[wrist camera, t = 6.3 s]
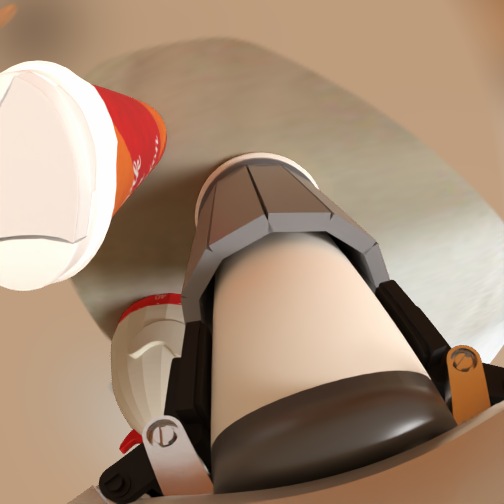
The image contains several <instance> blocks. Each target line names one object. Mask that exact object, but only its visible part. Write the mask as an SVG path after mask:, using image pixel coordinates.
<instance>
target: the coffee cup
mask: <svg viewBox="0 0 504 504" xmlns="http://www.w3.org/2000/svg"><path fill="white" fill-rule="evenodd" d="M166 140H167V133H166V128H165V124H164V122H163V120H162V118H161V116H160V115H159V114H158V112H157V111H156V110H155V109H153V108H152V107H151V106H149V105H147V104H145V103H143V102H141V101H139V100H136V99H134V98H131V97H128V96H126V95H123V94H120V93H117V92H114V91H111V90H108V89H105V88H102V87H99V86H96V85H93V84H89V83H88V82H86V81H85V80H83V79H81V78H80V77H78V76H77V75H76V74H74V73H73V72H71V71H70V70H69V69H67V68H65V67H63V66H60V65H58V64H55V63H53V62H46V61H29V62H23V63H20V64H18V65H15V66H12V67H10V68H9V69H7V70H5V71H3V72H2V73H0V286H2V287H5V288H8V289H12V290H17V291H29V290H35V289H38V288H42V287H44V286H46V285H48V284H53V283H57V282H60V281H64V280H66V279H68V278H70V277H72V276H74V275H75V274H77V273H78V272H79V271H80V270H82V269H83V268H84V267H85V266H86V265H87V264H88V263H89V262H90V260H91V259H92V258H93V257H94V256H95V254H96V253H97V251H98V249H99V248H100V246H101V244H102V243H103V241H104V238H105V236H106V233H107V231H108V228H109V226H110V222H111V218H112V217H113V216H114V214H115V213H116V212H117V211H118V209H119V208H120V207H121V206H122V205H123V203H124V202H125V201H126V200H127V199H128V198H129V196H130V195H131V194H132V193H133V192H134V191H135V189H136V188H137V187H138V186H139V185H140V184H141V182H142V181H143V180H144V179H145V178H146V177H147V176H148V174H149V173H150V172H151V171H152V170H153V169H154V167H155V166H156V165H157V164H158V162H159V161H160V159H161V157H162V155H163V153H164V150H165V147H166Z"/></svg>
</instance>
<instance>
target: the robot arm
mask: <svg viewBox="0 0 504 504" xmlns="http://www.w3.org/2000/svg"><path fill="white" fill-rule="evenodd" d="M375 296H376V298H377V299H378V301H379V302H380V303H381V305H382V306H383V308H384V309H385V310H386V312H387V313H388V315H389V316H390V318H391V319H392V320H393V322H394V323H395V325H396V326H397V328H398V329H399V331H400V332H401V334H402V335H403V336H404V338H405V339H406V341H407V342H408V344H409V345H410V347H411V349H412V350H413V352H414V353H415V355H416V356H417V358H418V359H419V361H420V362H421V364H422V366H423V367H424V369H425V370H426V372H427V373H428V375H429V377H430V378H431V380H432V382H433V383H434V385H435V386H436V388H437V390H438V391H439V393H440V395H441V396H442V398H443V400H444V402H445V403H446V405H447V407H448V408H449V410H450V412H451V414H452V415H453V417H454V419H455V421H456V423H457V425H458V426H457V427H455V428H453V429H451V430H449V431H447V432H445V433H443V434H442V435H440V436H438V437H436V438H434V439H432V440H429V441H427V442H425V443H423V444H421V445H419V446H416V447H414V448H412V449H410V450H407V451H405V452H402V453H400V454H398V455H395V456H392V457H390V458H387V459H385V460H382V461H379V462H376V463H374V464H371V465H368V466H365V467H362V468H358V469H355V470H352V471H349V472H345V473H342V474H338V475H334V476H331V477H327V478H323V479H319V480H314V481H310V482H305V483H300V484H295V485H290V486H284V487H278V488H272V489H264V490H256V491H247V492H237V493H225V494H213V482H212V478H211V370H212V336H211V333H210V330H209V327H208V324H207V323H204V324H203V323H202V321H201V320H199V321H192V322H187V323H186V325H185V332H184V339H183V346H182V353H181V357H177V358H173V359H172V362H171V367H170V373H169V380H168V387H167V394H166V401H165V408H164V416H159V417H156V418H154V419H152V420H150V421H149V422H148V423H147V424H146V426H145V427H144V429H143V433H142V439H143V442H142V443H141V444H140V445H138V446H137V447H136V448H135V449H133V450H132V451H131V452H129V453H128V454H127V455H125V456H124V457H123V458H121V459H120V460H119V461H117V462H116V463H115V464H113V465H112V466H111V467H109V468H108V469H106V470H105V471H104V472H103V473H102V475H101V477H100V480H99V485H98V486H96V487H95V486H91V487H90V488H89V489H87V490H86V491H84V492H83V493H82V494H80V495H79V496H77V497H76V498H75V499H73V500H72V501H70V502H69V503H68V504H504V368H502V367H498V366H494V365H490V364H486V363H482V361H481V358H480V355H479V353H478V352H477V351H476V350H475V349H473V348H472V347H469V346H466V345H459V346H455V347H453V348H452V349H451V347H450V346H449V345H448V343H447V342H446V341H445V339H444V338H443V337H442V335H441V334H440V333H439V332H438V330H437V329H436V328H435V327H434V325H433V324H432V323H431V322H430V320H429V319H428V318H427V317H426V315H425V314H424V313H423V312H422V310H421V309H420V308H419V307H417V306H416V305H415V304H414V303H413V302H412V301H411V299H410V298H409V297H408V296H407V295H406V293H405V292H404V291H403V290H402V289H401V288H400V286H399V285H398V284H397V283H396V282H395V281H394V280H389V281H385V282H381V283H380V284H379V287H377V288H376V289H375Z"/></svg>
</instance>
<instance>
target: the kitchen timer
mask: <svg viewBox="0 0 504 504" xmlns="http://www.w3.org/2000/svg"><path fill="white" fill-rule="evenodd" d="M184 332H185V322H184V317H183V310H182V304H181V294H174V293H168V294H160V295H152V296H149V297H146V298H144V299H142V300H139V301H137V302H135V303H133V304H132V305H131V306H130V307H129V308H128V309H127V310H126V311H125V312H124V313H123V314H122V317H121V319H120V321H119V323H118V326H117V328H116V330H115V333H114V335H113V339H112V344H111V369H112V385H113V391H114V395H115V398H116V401H117V403H118V406H119V408H120V410H121V412H122V414H123V415H124V417H125V419H126V420H127V422H128V423H129V425H130V426H131V428H132V429H133V430H132V431H131V432H130V433H129V434H128V435H127V437H126V438H125V439H124V441H123V442H122V444H121V446H120V448H119V449H120V450H121V452H122V453H123V454H125V453H126V452H127V451H128V450H129V449H130V448H131V447H132V446H134V445H135V444H138V443H139V444H141V443H142V442H143V439H142V433H143V429H144V427H145V426H146V424H147V423H148V422H149V421H150V420H152V419H154V418H156V417H159V416H164V408H165V401H166V394H167V387H168V380H169V373H170V367H171V362H172V359H173V358H177V357H181V353H182V346H183V339H184Z"/></svg>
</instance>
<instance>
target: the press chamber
mask: <svg viewBox="0 0 504 504" xmlns="http://www.w3.org/2000/svg"><path fill="white" fill-rule="evenodd" d="M195 225H196V232H195V236H194V240H193V244H192V248H191V253H190V257H189V261H188V266H187V270H186V275H185V279H184V284H183V288H182V293H181V304H182V310H183V317H184V322H185V325H186V323H187V322H192V321H199V320H201V321H202V323H203V324H204V323H207V324H208V327H209V330H210V333H211V336H212V334H213V307H214V285H215V271H216V269H217V268H218V266H219V264H220V263H221V261H222V260H223V259H224V258H226V257H228V256H230V255H231V254H233V253H235V252H237V251H239V250H240V249H242V248H244V247H246V246H248V245H249V244H251V243H253V242H255V241H256V240H258V239H260V238H262V237H264V236H265V235H267V234H269V233H271V232H305V231H326V232H327V233H328V235H329V236H330V237H331V238H332V240H333V241H334V242H335V243H336V245H337V246H338V247H339V249H340V250H341V251H342V252H343V254H344V255H345V256H346V258H347V259H348V260H349V261H350V263H351V264H352V265H353V267H354V268H355V269H356V271H357V272H358V273H359V275H360V276H361V277H362V279H363V280H364V281H365V283H366V284H367V285H368V287H369V288H370V289H371V291H372V292H373V294H374V295H375V289H376V288H377V287H379V284H380V283H381V282H385V281H389V280H390V279H389V275H388V272H387V269H386V266H385V263H384V260H383V257H382V254H381V251H380V248H379V245H378V243H377V242H376V240H375V239H373V238H372V237H371V236H370V235H369V234H368V233H367V232H366V231H365V230H364V229H363V228H362V227H361V226H360V225H358V224H357V223H356V222H355V221H354V220H353V219H352V218H351V217H350V216H349V215H347V214H346V213H345V212H344V211H343V210H342V209H341V208H339V207H338V206H337V205H336V204H335V203H334V202H333V201H331V200H330V199H329V198H328V197H327V196H326V195H324V194H323V193H322V192H321V191H320V190H319V189H318V186H317V185H316V183H315V181H314V180H313V178H312V177H311V176H310V175H309V173H308V172H306V171H305V170H304V169H303V168H302V167H301V166H299V165H298V164H297V163H295V162H294V161H292V160H290V159H288V158H286V157H283V156H281V155H278V154H273V153H267V152H254V153H247V154H243V155H240V156H237V157H234V158H232V159H230V160H228V161H226V162H225V163H223V164H222V165H221V166H219V167H218V168H217V169H216V170H215V171H214V172H213V173H212V174H211V175H210V176H209V177H208V179H207V180H206V182H205V183H204V185H203V187H202V189H201V191H200V193H199V196H198V200H197V203H196V209H195Z"/></svg>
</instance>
